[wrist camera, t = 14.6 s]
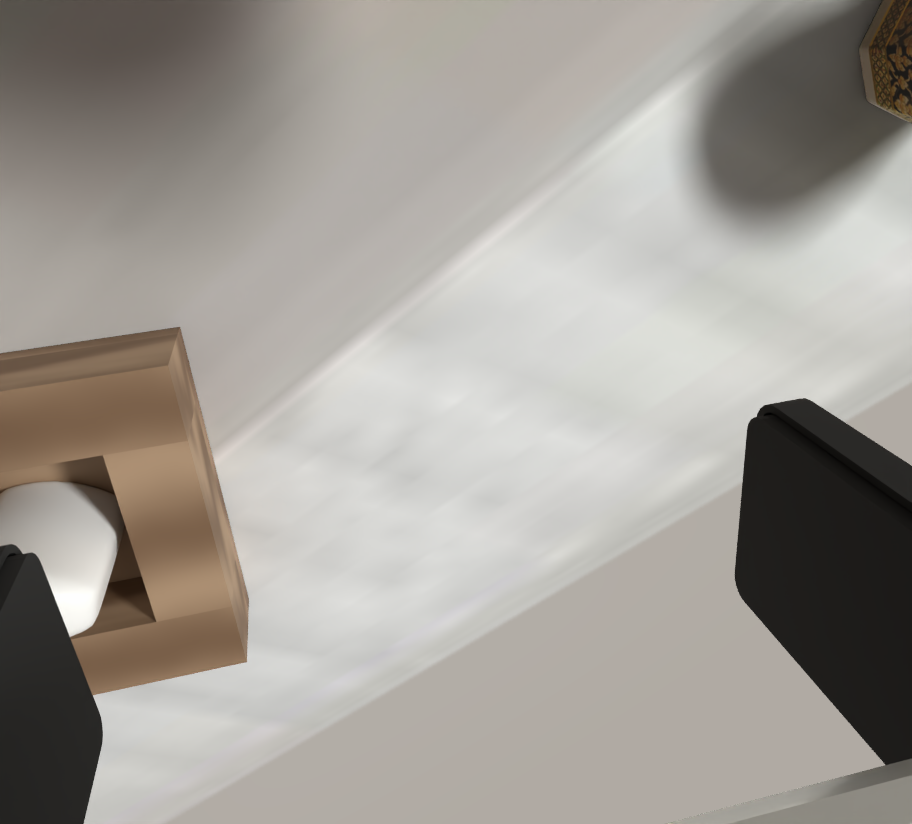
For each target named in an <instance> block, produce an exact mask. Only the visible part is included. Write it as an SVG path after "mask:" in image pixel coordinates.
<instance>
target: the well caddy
mask: <svg viewBox="0 0 912 824" xmlns="http://www.w3.org/2000/svg"><path fill="white" fill-rule="evenodd" d="M47 481H60V482H72V483H78V484H84V485H88V486H92V487H95V488H98V489H101V490H104V491H106V492H109V493H111V494H113V495H115V496H116V498H117V501H118V504H119V507H120V510H121V514H122V517H123V520H124V531H123V535H122V539H121V542H120V546H119V549H118V552H117V556H116V559H115V563H114V566H113V569H112V573H111V576H110V579H109V583H108V586H107V589H106V593H105V596H104V599H103V602H102V605H101V608H100V611H99V614H98V616H97V618H96V620H95V622H94V624H93V625H92V626H91V627H90V628H88V629H87V630H85V631H83V632H81V633H79V634H76V635H74V636H71V637H70V639H71V641H72V644H73V646H74V649H75V651H76V654H77V657H78V659H79V662H80V664H81V667H82V669H83V672H84V675H85V677H86V680H87V682H88V685H89V688H90V690H91V693H92V695H96V694H101V693H105V692H110V691H114V690H119V689H124V688H128V687H133V686H138V685H142V684H147V683H151V682H156V681H161V680H165V679H170V678H175V677H179V676H184V675H188V674H193V673H198V672H202V671H207V670H212V669H216V668H221V667H225V666H230V665H235V664H239V663H244V662H247V639H248V607H249V598H248V595H247V591H246V587H245V583H244V579H243V575H242V571H241V567H240V563H239V559H238V555H237V551H236V547H235V543H234V539H233V535H232V531H231V527H230V523H229V519H228V515H227V511H226V507H225V504H224V500H223V496H222V492H221V488H220V484H219V480H218V476H217V472H216V468H215V464H214V460H213V456H212V452H211V448H210V444H209V440H208V436H207V432H206V428H205V424H204V420H203V416H202V412H201V409H200V405H199V401H198V397H197V393H196V389H195V385H194V381H193V377H192V373H191V369H190V365H189V361H188V357H187V353H186V349H185V345H184V341H183V337H182V333H181V329H180V327H177V328H170V329H163V330H156V331H149V332H143V333H136V334H129V335H122V336H116V337H109V338H102V339H95V340H89V341H82V342H75V343H68V344H61V345H55V346H48V347H41V348H34V349H28V350H21V351H14V352H7V353H1V354H0V493H2V492H3V491H5V490H6V489H9V488H12V487H15V486H19V485H23V484H29V483H36V482H47Z"/></svg>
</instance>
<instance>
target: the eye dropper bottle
mask: <svg viewBox="0 0 912 824" xmlns="http://www.w3.org/2000/svg"><path fill="white" fill-rule="evenodd" d="M123 531H124V520H123V517H122V514H121V510H120V507H119V504H118V501H117V498H116V496H115V495H113V494H111V493H109V492H106V491H104V490H101V489H98V488H95V487H92V486H88V485H84V484H78V483H72V482H60V481H47V482H36V483H29V484H23V485H19V486H15V487H12V488H9V489H6V490H5V491H3V492H2V493H0V546H3V545H8V544H13V545H16V546H17V547H18V548H19V549H20V550H21V552H22V554H25V553H31V552H32V553H35V554H36V555H37V557H38V558H39V560H40V562H41V564H42V566H43V569H44V572H45V574H46V577H47V579H48V582H49V585H50V587H51V590H52V592H53V595H54V597H55V600H56V603H57V605H58V608H59V610H60V613H61V615H62V618H63V621H64V623H65V626H66V628H67V631H68V633H69V636H70V637H71V636H74V635H76V634H79V633H81V632H83V631H85V630H87V629H88V628H90V627H91V626H92V625H93V624H94V622H95V620H96V618H97V616H98V614H99V611H100V608H101V605H102V602H103V599H104V596H105V593H106V589H107V586H108V583H109V579H110V576H111V573H112V569H113V566H114V563H115V559H116V556H117V552H118V549H119V546H120V542H121V539H122V535H123Z"/></svg>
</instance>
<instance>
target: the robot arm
mask: <svg viewBox="0 0 912 824" xmlns="http://www.w3.org/2000/svg"><path fill="white" fill-rule="evenodd" d="M735 581H736V586H737V589H738V592H739V594H740V596H741V598H742V599H743V600H744V602H745V603H746V604H747V605H748V606H749V607H750V609H751V610H752V611H753V612H754V613H755V614H756V616H757V617H758V618H759V619H760V620H761V621H762V622H763V624H764V625H765V626H766V627H767V628H768V629H769V631H770V632H771V633H772V634H773V635H774V636H775V638H776V639H777V640H778V641H779V642H780V643H781V645H782V646H783V647H784V648H785V649H786V650H787V651H788V653H789V654H790V655H791V656H792V657H793V658H794V660H795V661H796V662H797V663H798V664H799V665H800V666H801V668H802V669H803V670H804V671H805V672H806V673H807V675H808V676H809V677H810V678H811V679H812V680H813V681H814V683H815V684H816V685H817V686H818V687H819V688H820V690H821V691H822V692H823V693H824V694H825V695H826V696H827V698H828V699H829V700H830V701H831V702H832V703H833V705H834V706H835V707H836V708H837V709H838V710H839V712H840V713H841V714H842V715H843V716H844V717H845V718H846V719H847V721H848V722H849V723H850V724H851V725H852V726H853V728H854V729H855V730H856V731H857V732H858V733H859V734H860V736H861V737H862V738H863V739H864V740H865V742H866V743H867V744H868V745H869V746H870V747H871V748H872V750H874V752H875V753H876V754H877V755H878V757H879V758H880V759H881V760H882V761H883V762H884V764H885V766H881V767H878V768H874V769H870V770H866V771H862V772H859V773H855V774H851V775H847V776H844V777H840V778H836V779H832V780H829V781H825V782H821V783H817V784H813V785H809V786H806V787H802V788H798V789H794V790H791V791H787V792H783V793H779V794H776V795H772V796H768V797H764V798H760V799H756V800H753V801H749V802H745V803H741V804H738V805H734V806H730V807H726V808H722V809H719V810H716V811H712V812H708V813H704V814H700V815H697V816H693V817H689V818H685V819H682V820H678V821H674V822H671V823H667V824H912V466H911V465H910V464H908V463H907V462H905V461H903V460H902V459H900V458H899V457H897V456H896V455H894V454H893V453H891V452H889V451H888V450H886V449H885V448H883V447H882V446H880V445H878V444H877V443H875V442H874V441H872V440H871V439H869V438H867V437H866V436H865V435H863V434H862V433H860V432H858V431H857V430H855V429H854V428H852V427H851V426H849V425H848V424H846V423H845V422H843V421H841V420H840V419H838V418H837V417H835V416H834V415H832V414H831V413H829V412H828V411H826V410H824V409H823V408H821V407H820V406H818V405H817V404H815V403H814V402H812V401H810V400H808V399H805V398H803V399H796V400H791V401H785V402H780V403H774V404H769V405H765V406H763V407H762V408H761V409H760V410H759V412H758V414H757V417H755V418H753V419H751V420H750V422H749V424H748V429H747V438H746V450H745V461H744V473H743V484H742V497H741V508H740V519H739V531H738V542H737V554H736V565H735ZM102 737H103V731H102V722H101V717H100V714H99V711H98V708H97V706H96V703H95V700H94V698H93V695H92V693H91V690H90V688H89V685H88V682H87V680H86V677H85V675H84V672H83V669H82V667H81V664H80V662H79V659H78V657H77V654H76V651H75V649H74V646H73V644H72V641H71V639H70V636H69V633H68V631H67V628H66V626H65V623H64V621H63V618H62V615H61V613H60V610H59V608H58V605H57V603H56V600H55V597H54V595H53V592H52V590H51V587H50V585H49V582H48V579H47V577H46V574H45V572H44V569H43V566H42V564H41V562H40V560H39V558H38V557H37V555H36V554H35V553H32V552H31V553H25V554H22V552H21V550H20V549H19V548H18V547H17V546H16V545H13V544H8V545H3V546H0V824H83V823H84V819H85V815H86V811H87V806H88V802H89V798H90V793H91V789H92V785H93V781H94V776H95V772H96V768H97V764H98V759H99V755H100V751H101V746H102Z"/></svg>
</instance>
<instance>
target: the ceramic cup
mask: <svg viewBox="0 0 912 824" xmlns="http://www.w3.org/2000/svg"><path fill="white" fill-rule="evenodd" d="M859 54H860V61H861V68H862V74H863V80H864V87H865V93H866V99H867V101H868V102H870V103H871V104H873V105H875V106H877V107H879V108H881V109H883V110H885V111H887V112H889V113H890V114H892V115H894V116H896V117H898V118H900V119H902V120H905V121H907V122H910V123H912V0H883V1H882V3H881V5H880V7H879V9H878V11H877V13H876V15H875V17H874V19H873V21H872V23H871V25H870V27H869V29H868V31H867V33H866V35H865V37H864V39H863V41H862V43H861V45H860V47H859Z"/></svg>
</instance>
